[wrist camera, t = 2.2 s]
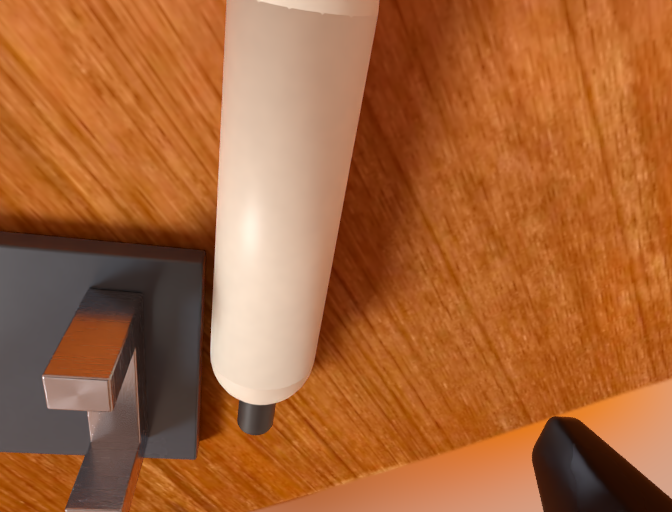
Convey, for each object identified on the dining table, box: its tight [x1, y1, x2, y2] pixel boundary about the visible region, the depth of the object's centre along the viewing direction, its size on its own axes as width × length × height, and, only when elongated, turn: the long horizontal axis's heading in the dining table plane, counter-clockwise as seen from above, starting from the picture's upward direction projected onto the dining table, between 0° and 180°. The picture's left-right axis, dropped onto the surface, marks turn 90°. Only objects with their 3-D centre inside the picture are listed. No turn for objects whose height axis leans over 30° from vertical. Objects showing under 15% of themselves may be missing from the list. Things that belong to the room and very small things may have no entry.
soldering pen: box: [210, 0, 380, 435], centre depth 13 cm, size 19×3×3 cm, turn 171°
